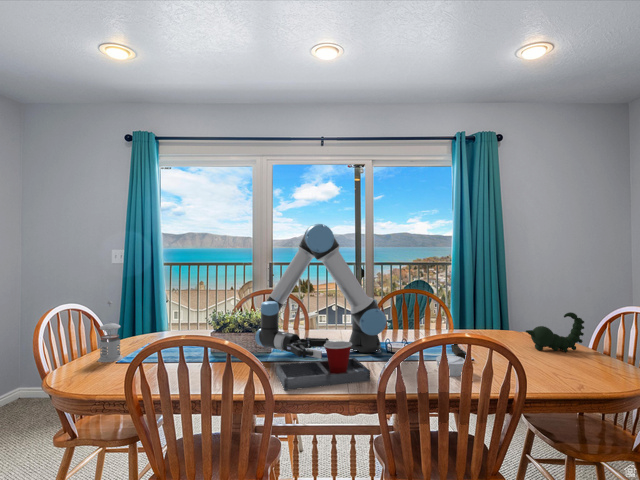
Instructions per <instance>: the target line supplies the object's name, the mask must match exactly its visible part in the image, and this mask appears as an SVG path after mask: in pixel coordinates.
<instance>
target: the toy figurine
mask: <svg viewBox="0 0 640 480" xmlns="http://www.w3.org/2000/svg"><path fill="white" fill-rule="evenodd" d="M567 317H570V318H571V319H573V323H572V328H571V329H570V333H569V334H568V335H567V336H562V335H559V334H557V333H554V332H553V331H552V329H551V328H549V327H547V326H544V325H540V326H535V328H533V329H529V330H525V333H527V334H528V335H529V336H530V337H531V341H532V342H533V343H534V348H535V349H536V350H537V351H542V350H543V349H544V348H546V347H547V348H549V349H551V350H552V351H554V352H558V350H560V351H562V352H563V353H567V352H568V351H569V350H568V349H571V350H573V351H575V350H577V346H576V343H577V344H578V343H579V344H582V343H583V341H584V340H583V339H580V336H583V337H584V332H582V330H584V329H585V326H584V325H583V324H585V320H583V319H582V317H578V315H577V314H576V313H574V312H566V313H565V314H564V315H563V318H567Z"/></svg>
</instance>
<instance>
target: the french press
mask: <svg viewBox="0 0 640 480" xmlns="http://www.w3.org/2000/svg"><path fill="white" fill-rule="evenodd" d="M106 304H107V305H109V306H111V305H112V304H113V301H111V300H110V301H107V303H106ZM120 328H121V325H120V324H117V323H114V322H108V323H105V324H103V325H101V326H99V330H101V331H104V332H103V335H102V336H101V337H100V338H101V340H99V347H100V348H99V355H100V357H99V358H98V359H97V362H99V363H113V362H116V361H120V360H122V359H123V358H124V357H123V355H121V338H119V337H120V335H119V334H118V333H116V334H114V333H113V334H111V333H110V332H111V331H113V330H118V329H120ZM106 332H107V334H106ZM105 334H106V335H105Z"/></svg>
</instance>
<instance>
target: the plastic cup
mask: <svg viewBox="0 0 640 480" xmlns="http://www.w3.org/2000/svg"><path fill="white" fill-rule="evenodd" d="M351 346H352V343H351V342H349V341H345V340H343V341H341V340H340V341H339V340H338V341H334V342H329V343H326V344H324V346H323V347H324V349H325V352H326V358H327V360H328V363H329V368H330V373H331V374H332V373H342V372H347V366H348V361H349V358H350V355H351V350H350V349H351Z"/></svg>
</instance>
